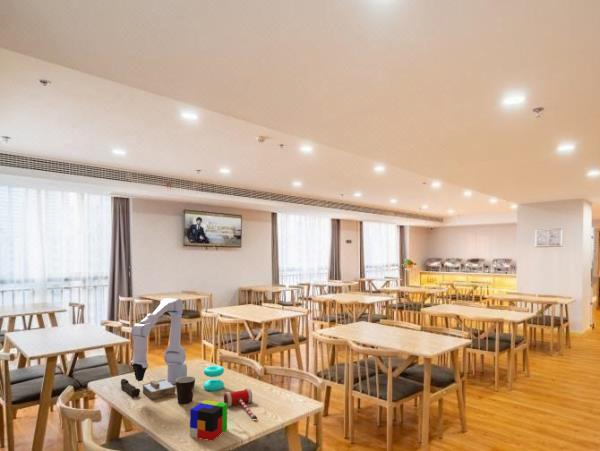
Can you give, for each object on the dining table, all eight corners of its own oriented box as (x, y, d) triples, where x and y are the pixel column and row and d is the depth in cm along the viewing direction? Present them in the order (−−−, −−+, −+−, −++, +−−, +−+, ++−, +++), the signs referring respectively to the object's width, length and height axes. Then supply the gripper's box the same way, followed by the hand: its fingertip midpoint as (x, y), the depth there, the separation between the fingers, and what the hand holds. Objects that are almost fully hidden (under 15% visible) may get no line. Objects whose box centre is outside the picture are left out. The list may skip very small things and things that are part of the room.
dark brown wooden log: (140, 396, 191) (140, 386, 191) (131, 398, 188) (131, 388, 188) (127, 386, 205) (127, 376, 205) (118, 387, 202) (119, 378, 203)
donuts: (222, 371, 198) (201, 371, 197) (222, 391, 197) (201, 391, 197) (225, 365, 208) (206, 365, 207) (225, 384, 207) (205, 384, 207)
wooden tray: (164, 387, 203) (164, 379, 203) (175, 394, 193) (175, 386, 193) (142, 392, 195) (142, 384, 196) (152, 400, 186) (152, 391, 186)
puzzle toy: (189, 436, 151) (190, 409, 152) (205, 425, 160) (205, 399, 161) (212, 441, 147) (212, 413, 148) (226, 429, 157) (227, 403, 157)
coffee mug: (184, 396, 190) (184, 375, 191) (198, 400, 186) (199, 378, 187) (166, 405, 180) (166, 382, 180) (181, 409, 176) (181, 385, 176)
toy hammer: (268, 418, 168) (268, 402, 168) (241, 424, 162) (241, 408, 163) (247, 400, 188) (247, 386, 188) (223, 404, 182) (223, 390, 182)
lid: (165, 381, 202) (165, 376, 202) (174, 387, 193) (175, 382, 194) (143, 386, 195) (143, 380, 195) (152, 393, 186) (152, 387, 186)
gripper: (126, 348, 189) (125, 377, 188) (136, 354, 178) (135, 386, 177) (141, 346, 194) (140, 374, 193) (152, 352, 183) (151, 382, 182)
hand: (139, 380), depth 185 cm, fingers closed
